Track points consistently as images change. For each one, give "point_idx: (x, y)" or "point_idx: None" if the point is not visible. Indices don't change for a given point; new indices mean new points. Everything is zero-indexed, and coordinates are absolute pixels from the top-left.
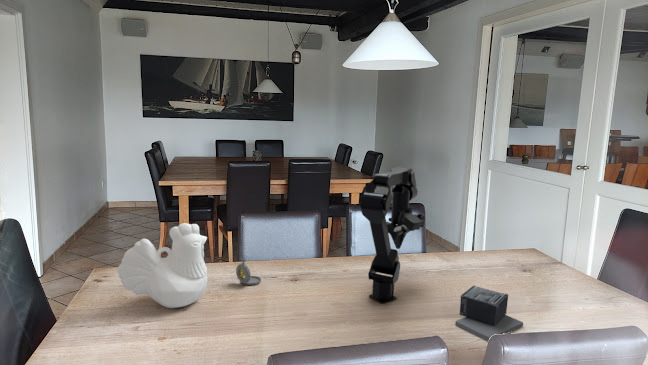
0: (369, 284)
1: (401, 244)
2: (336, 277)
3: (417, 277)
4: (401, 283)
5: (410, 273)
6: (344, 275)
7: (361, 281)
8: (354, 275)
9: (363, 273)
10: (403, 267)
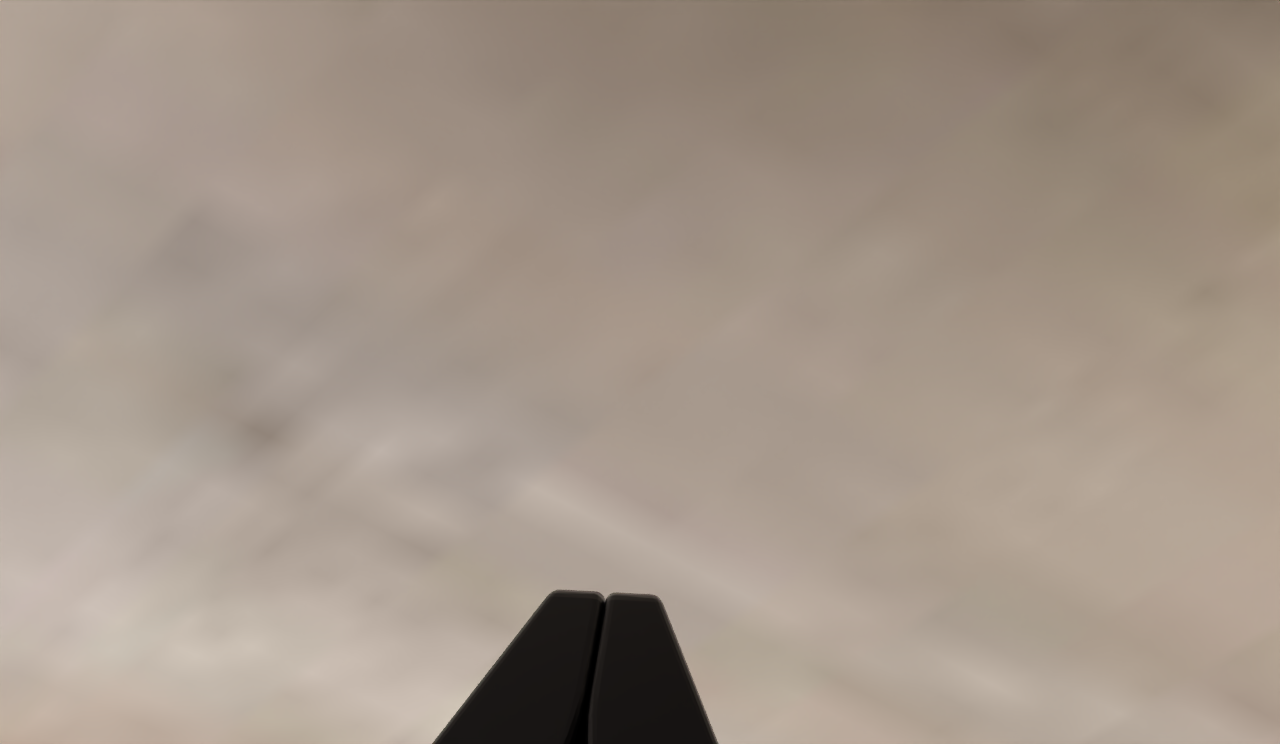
0: (1105, 324)
1: (465, 715)
2: (1254, 737)
3: (34, 71)
4: (548, 30)
5: (56, 277)
6: (1095, 728)
7: (1097, 474)
8: (974, 665)
9: (794, 649)
10: (25, 503)
